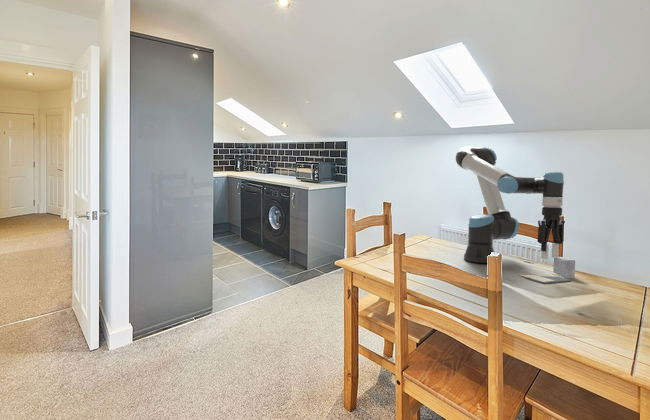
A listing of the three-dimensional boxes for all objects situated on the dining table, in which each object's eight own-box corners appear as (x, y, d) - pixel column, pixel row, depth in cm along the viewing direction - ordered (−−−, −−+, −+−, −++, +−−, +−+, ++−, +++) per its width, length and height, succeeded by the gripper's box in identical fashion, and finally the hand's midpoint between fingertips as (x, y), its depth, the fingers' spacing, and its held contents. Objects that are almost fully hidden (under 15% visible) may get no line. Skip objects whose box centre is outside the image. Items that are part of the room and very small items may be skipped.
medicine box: (574, 279, 154) (576, 260, 153) (565, 279, 153) (566, 260, 153) (561, 274, 161) (562, 256, 161) (552, 274, 161) (553, 256, 161)
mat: (516, 275, 158) (516, 274, 158) (542, 273, 163) (542, 272, 163) (544, 284, 144) (544, 282, 144) (571, 281, 149) (571, 279, 149)
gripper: (544, 207, 146) (542, 260, 147) (575, 207, 152) (572, 258, 153) (529, 206, 153) (526, 257, 154) (559, 206, 159) (556, 255, 160)
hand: (549, 257), depth 154 cm, fingers open, 6 cm apart
